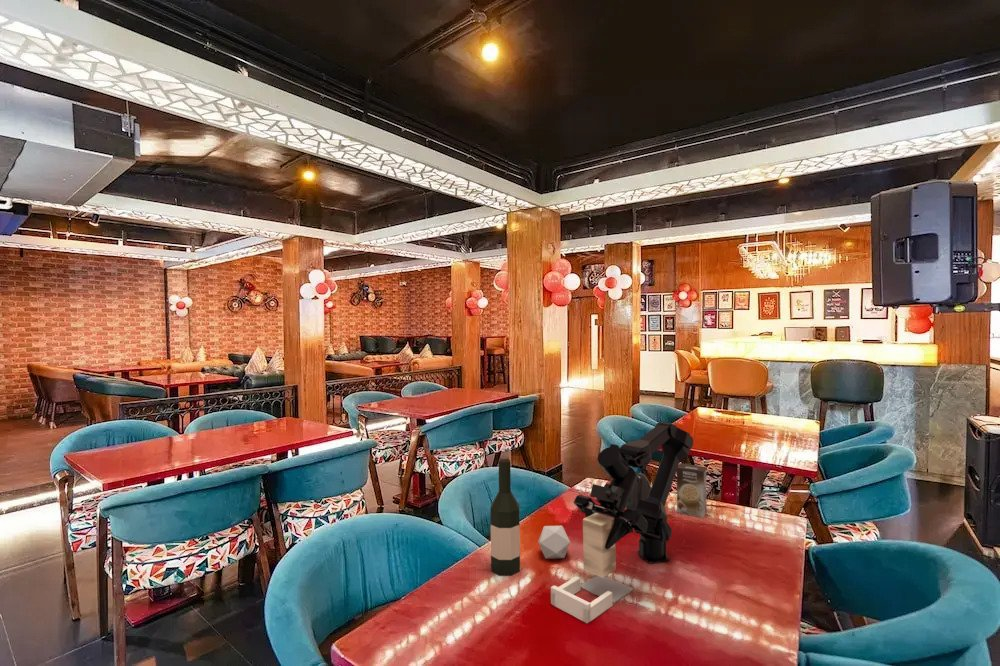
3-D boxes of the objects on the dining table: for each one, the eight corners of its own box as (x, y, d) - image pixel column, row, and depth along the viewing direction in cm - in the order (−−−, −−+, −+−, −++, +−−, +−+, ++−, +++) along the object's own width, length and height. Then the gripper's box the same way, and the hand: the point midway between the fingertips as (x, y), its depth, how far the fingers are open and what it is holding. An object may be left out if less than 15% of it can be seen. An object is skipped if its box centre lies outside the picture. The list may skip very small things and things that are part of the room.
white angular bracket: (576, 588, 118) (576, 572, 118) (612, 605, 110) (612, 588, 110) (551, 604, 111) (550, 587, 111) (587, 623, 104) (587, 605, 104)
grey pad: (599, 574, 124) (599, 573, 124) (633, 589, 117) (633, 588, 117) (579, 587, 118) (579, 585, 118) (614, 603, 111) (614, 602, 111)
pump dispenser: (617, 514, 165) (617, 470, 165) (643, 510, 169) (643, 467, 169) (634, 525, 156) (634, 479, 156) (661, 521, 159) (661, 476, 159)
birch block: (596, 561, 120) (595, 512, 120) (615, 569, 116) (614, 518, 116) (583, 569, 116) (582, 519, 116) (602, 578, 112) (601, 525, 112)
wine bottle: (525, 564, 130) (524, 455, 130) (513, 578, 123) (512, 463, 123) (498, 558, 134) (497, 452, 134) (485, 572, 126) (483, 459, 126)
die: (561, 569, 129) (578, 534, 132) (532, 550, 130) (550, 517, 133) (557, 566, 137) (573, 533, 140) (530, 548, 138) (547, 517, 141)
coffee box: (676, 513, 166) (675, 467, 166) (679, 507, 171) (679, 462, 171) (704, 518, 161) (703, 471, 161) (707, 512, 166) (706, 466, 166)
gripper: (577, 463, 125) (550, 517, 118) (640, 479, 112) (615, 541, 104) (595, 486, 131) (571, 538, 123) (658, 503, 117) (635, 563, 110)
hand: (596, 544), depth 115 cm, fingers closed on birch block, 5 cm apart
